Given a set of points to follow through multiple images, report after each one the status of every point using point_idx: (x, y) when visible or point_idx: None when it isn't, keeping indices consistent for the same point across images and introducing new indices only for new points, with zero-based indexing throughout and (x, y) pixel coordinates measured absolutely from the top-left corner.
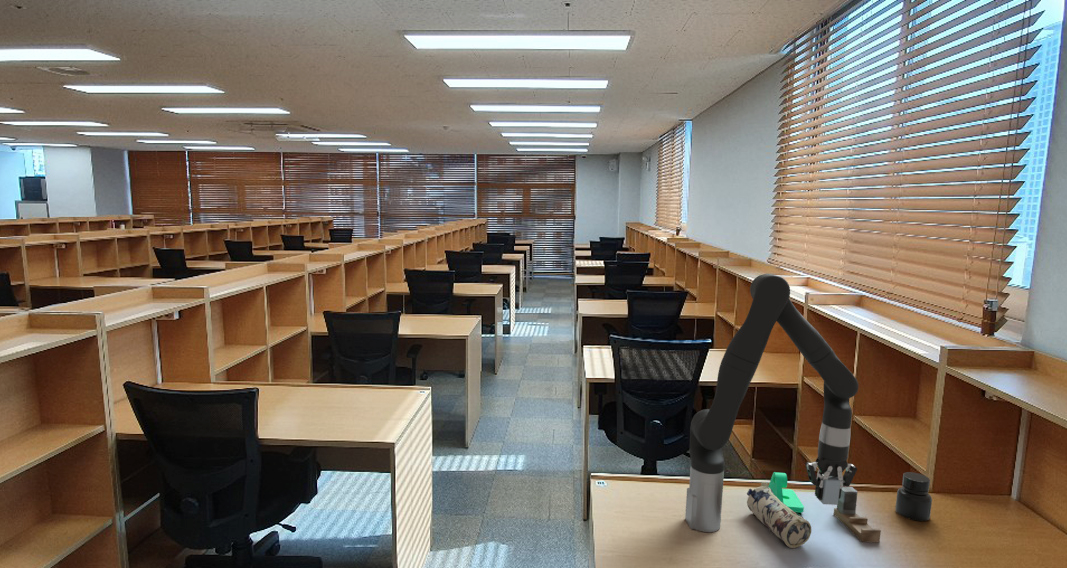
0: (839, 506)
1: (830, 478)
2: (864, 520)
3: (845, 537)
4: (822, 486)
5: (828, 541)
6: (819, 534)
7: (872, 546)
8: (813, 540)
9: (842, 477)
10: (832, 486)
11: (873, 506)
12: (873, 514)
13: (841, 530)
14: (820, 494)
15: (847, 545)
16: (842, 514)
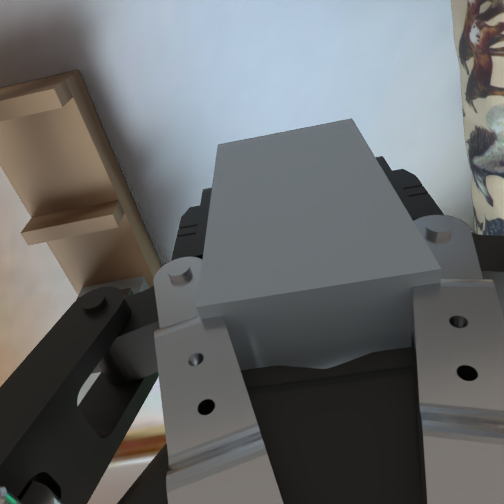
0: None
1: (334, 336)
2: (40, 224)
3: (159, 100)
4: (424, 224)
5: (265, 28)
6: (291, 100)
7: (22, 29)
8: (350, 18)
9: (160, 364)
10: (308, 227)
11: (8, 375)
12: (9, 326)
13: (166, 168)
14: (396, 180)
15: (165, 4)
16: (142, 272)
